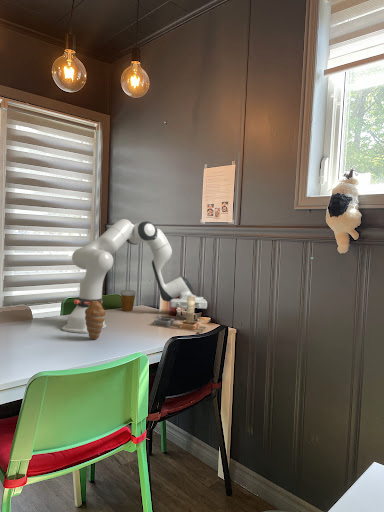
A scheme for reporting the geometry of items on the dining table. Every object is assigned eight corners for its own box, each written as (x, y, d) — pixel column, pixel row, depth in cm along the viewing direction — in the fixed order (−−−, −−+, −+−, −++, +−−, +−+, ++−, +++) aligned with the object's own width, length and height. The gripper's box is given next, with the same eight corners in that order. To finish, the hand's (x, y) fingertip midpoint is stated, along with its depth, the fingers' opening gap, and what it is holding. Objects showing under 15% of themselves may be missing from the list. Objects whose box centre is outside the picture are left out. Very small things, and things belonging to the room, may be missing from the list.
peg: (192, 329, 194) (193, 297, 193) (184, 328, 195) (186, 297, 194) (194, 327, 198) (196, 296, 197) (186, 326, 199) (188, 296, 198)
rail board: (199, 334, 189) (199, 327, 188) (147, 327, 197) (147, 320, 197) (205, 329, 200) (206, 322, 200) (156, 322, 208) (156, 315, 208)
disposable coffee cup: (130, 308, 241) (130, 289, 240) (138, 311, 234) (139, 291, 233) (116, 309, 235) (117, 290, 234) (124, 312, 228) (125, 292, 227)
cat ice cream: (83, 342, 166) (85, 301, 165) (83, 336, 173) (85, 297, 172) (104, 341, 168) (106, 301, 167) (103, 336, 176) (105, 297, 175)
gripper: (169, 295, 216) (170, 299, 202) (205, 296, 218) (208, 301, 204) (169, 306, 217) (169, 311, 203) (205, 307, 218) (208, 313, 205)
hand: (189, 306), depth 204 cm, fingers open, 8 cm apart
